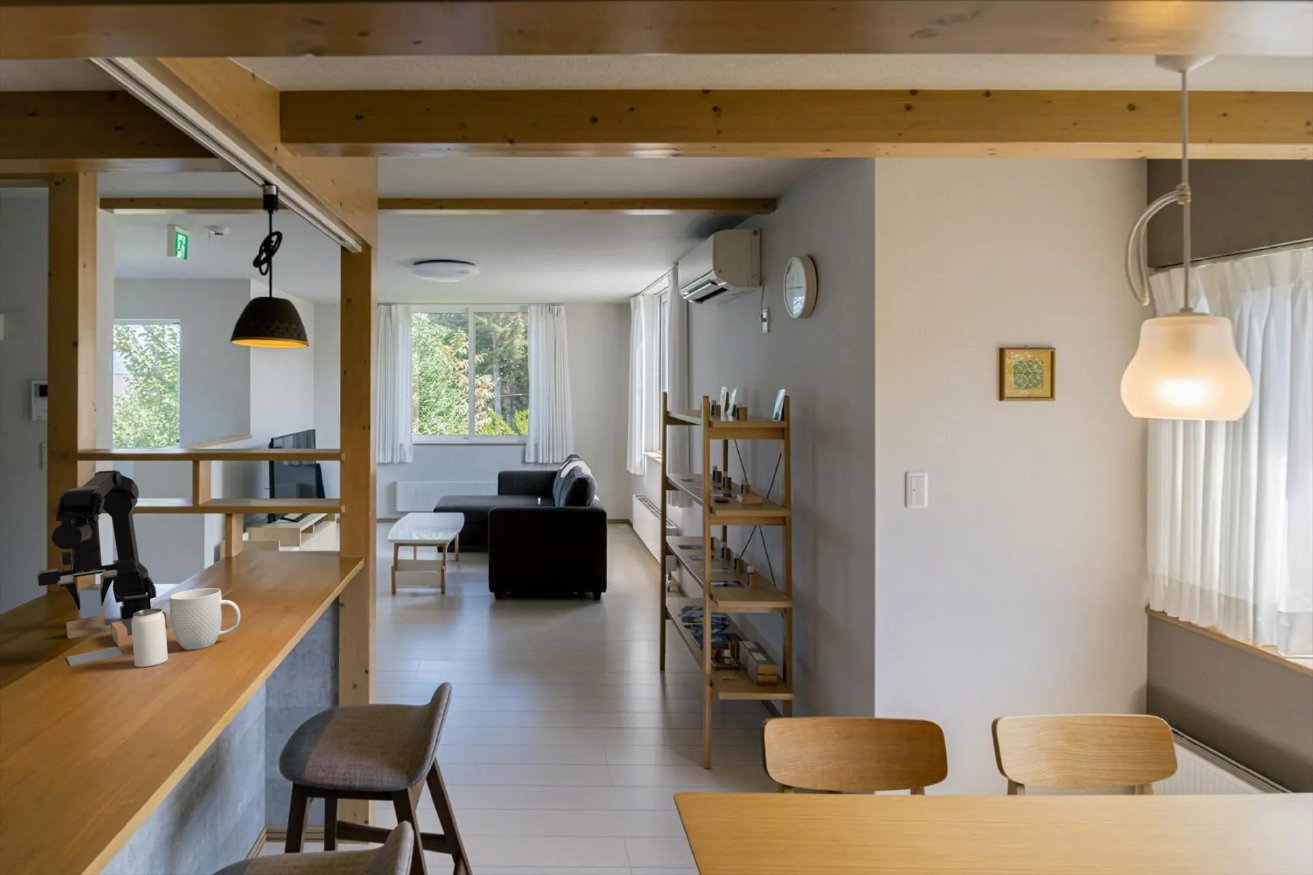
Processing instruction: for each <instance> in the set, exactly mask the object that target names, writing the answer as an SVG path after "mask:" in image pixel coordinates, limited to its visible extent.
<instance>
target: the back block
mask: <svg viewBox="0 0 1313 875" xmlns="http://www.w3.org/2000/svg"><path fill="white" fill-rule="evenodd" d="M65 625H66V626H65V627H66V638H67V639H69V640H70V639H73V638H79V637H84V636H88V635H93V634H100V633H104V632H106V630H107V629H106V619H105V616H104V615H99V616H94V617H88V618H82V619H77V620H73V621H72V620H71V621H67V622H66V621H65Z"/></svg>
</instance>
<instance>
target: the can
mask: <svg viewBox="0 0 1313 875" xmlns="http://www.w3.org/2000/svg"><path fill="white" fill-rule="evenodd" d="M162 611H163V609H162V608H151V609H147V610H142V611H138V612H135V613H133V615H134V616H133V618H132V621H131V624H132V635H131V636H132V647H133V659H134V660H133V661H134V666H136V667H137V668H140V669H141V668H144V669H145V668H151V667H156V666H160V665H163V664H164V663H166V662H167V660H168V658H169V655H168V644H167V631H166V630H167V628H166V627H165V616H164V614H163V613H162Z"/></svg>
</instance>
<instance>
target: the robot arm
mask: <svg viewBox="0 0 1313 875" xmlns="http://www.w3.org/2000/svg"><path fill="white" fill-rule="evenodd" d="M138 498H139V486H138V485H137V484H136V482H135V481H134V480H133V479H132V478H130V477H127V476H125V475H122V473H121V472H120V470H115V469H113V470H99V471H97V472H95V473H94V475H93V477H92V478H91V479H89V480H88V481H86V483H85V484H83V485H82V486H79V487H75V488H69V489H67V490H65V491H64V492H63V493H62V495H60V498H59V504H58V508H57V512H56V517H55V521H56V522H60V523H61V525H59V526H57V527H56V528H55V529H53V531H52V535H51V541H52V542H53V544H54V545H55V546H56V547H57V548H58V549H62V550H70V551H64V552H60V563H61V567H63V568H64V567H70V569H69V570H68V569H67V570H60V571H59V569H58V568H50V569H43V570H41V569H40V570H38V571H37V573H36V583H37V585H38V587H43V586H44V587H45V586H50V585H56V584H58V586H59V587H62V588H63V587H65V588H66V590H67V591H68V592H69V594H70V596H71V598H72V600H73V603H74V604H75V607H76V609H77V610H78V611H79V610H80V602H79V597H78V588H77V585H76V581H74V578H80V577H86V576H94V575H99V574H100V575H99V577H100V580H99V581H100V584H99V589H100V593H101V606H102V607H103V605H104V602H105V600H106V596H107V595H108V590H109V589H110V587H111V585H112V591H113V592H112V593H113V595H114V596H113V597H114V601H115V603H117V604H118V603H121V606H119V613H120V614H119V616H120V617H119V618H120V620H123V619H129V618H133V616H134V615H133V613H135V612H138V611H142V610H147V609H152V607H151V606H152V604H151V600H152V599H155V598H157V590H156V589H157V588H156V586H155V584H154V582H153V580H152V578H151V577H150V576H149V570H148V569H147V568H146V566H144V564H142V562H140V557H139V551H138V545H137V544H138V543H137V537H136V532H135V531H136V530H135V524H134V523H135V522H134V517H133V511H134V509H135V507H136V505H137V504H138ZM103 511H104V512H106V514H107V515H109V516H110V517H111V523H112V528H113V529H112V530H113V535H114V542H115V549H116V553H117V559H114V560H113V561H112V563H111V564H103V563H102V551H101V538H100V526H99V520H100V515H102V512H103ZM112 582H113V583H112Z"/></svg>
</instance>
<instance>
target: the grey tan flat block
mask: <svg viewBox="0 0 1313 875" xmlns="http://www.w3.org/2000/svg"><path fill="white" fill-rule="evenodd" d="M162 613H163V614H164V616H165V627H166V629H167V628H168V626H167V625H168V624H167V613H166V612H165V611H163V612H162ZM131 621H132V618H129V619H123V620H121V619H119V620H114V621H110V629H111V638H112V639H113V641H114V642H115V643H116V645H117V647H124V646H128V645H129V636H132V624H131Z"/></svg>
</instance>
